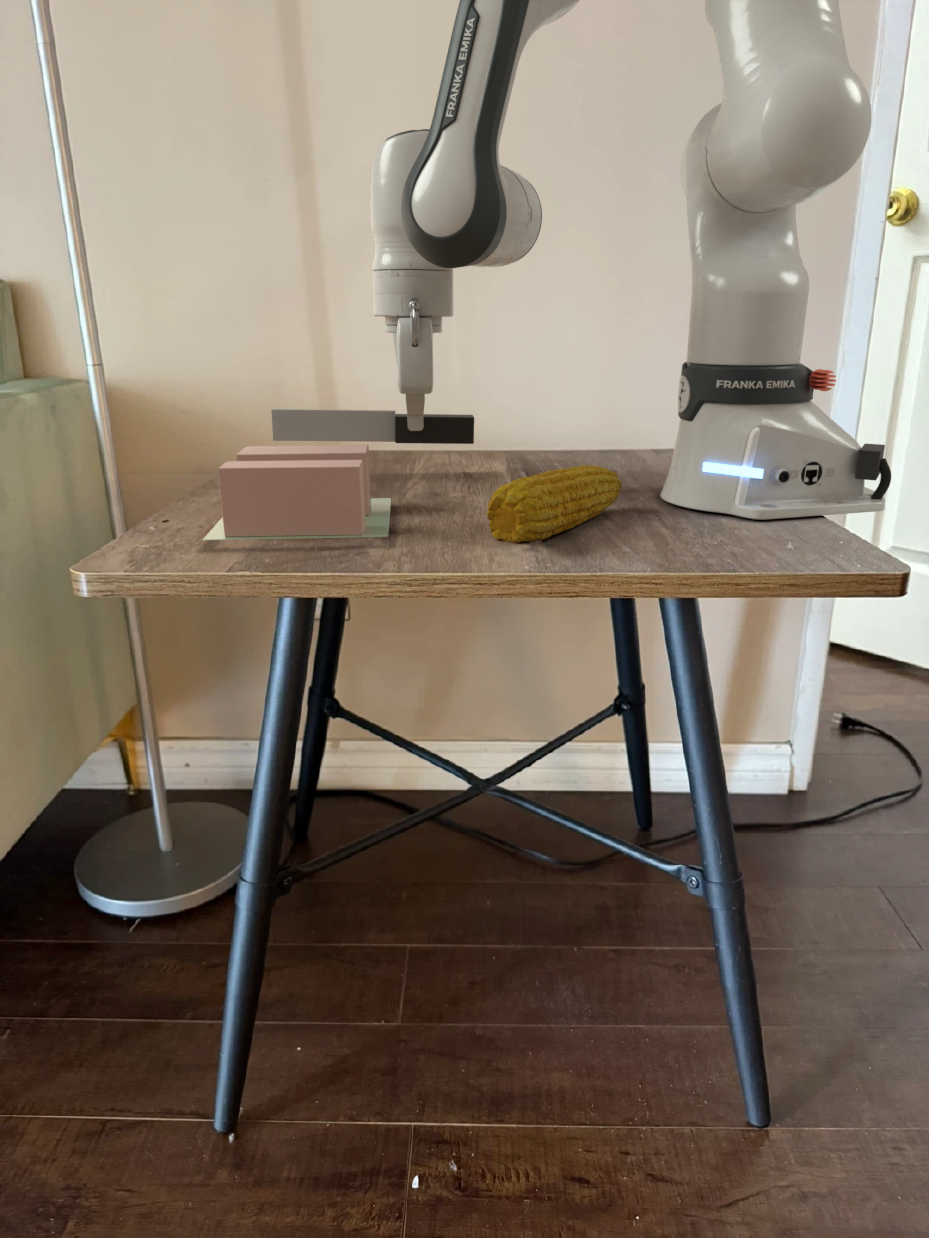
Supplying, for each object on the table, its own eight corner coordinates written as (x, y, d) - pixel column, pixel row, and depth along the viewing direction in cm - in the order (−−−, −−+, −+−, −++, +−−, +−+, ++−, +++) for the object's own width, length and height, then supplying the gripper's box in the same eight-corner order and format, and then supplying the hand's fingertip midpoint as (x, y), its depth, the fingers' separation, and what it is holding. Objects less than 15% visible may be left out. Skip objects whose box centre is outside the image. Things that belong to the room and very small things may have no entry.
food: (534, 559, 71) (535, 488, 69) (476, 549, 74) (476, 481, 72) (630, 510, 88) (634, 452, 86) (580, 504, 91) (582, 447, 89)
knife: (472, 440, 101) (472, 410, 100) (473, 444, 99) (474, 413, 98) (274, 438, 100) (273, 408, 99) (271, 442, 97) (269, 410, 96)
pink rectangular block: (371, 504, 87) (368, 444, 85) (369, 515, 82) (366, 452, 80) (250, 506, 86) (245, 446, 84) (241, 518, 81) (235, 454, 79)
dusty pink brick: (365, 525, 78) (362, 459, 76) (362, 535, 75) (359, 466, 73) (233, 527, 78) (226, 461, 76) (224, 537, 75) (217, 468, 73)
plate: (391, 507, 90) (391, 497, 90) (388, 547, 75) (388, 536, 75) (237, 510, 89) (236, 500, 89) (202, 551, 74) (201, 540, 74)
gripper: (446, 299, 85) (446, 440, 90) (438, 301, 104) (439, 417, 109) (382, 299, 84) (386, 441, 89) (386, 300, 104) (389, 417, 108)
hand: (415, 428), depth 99 cm, fingers closed on knife, 2 cm apart
